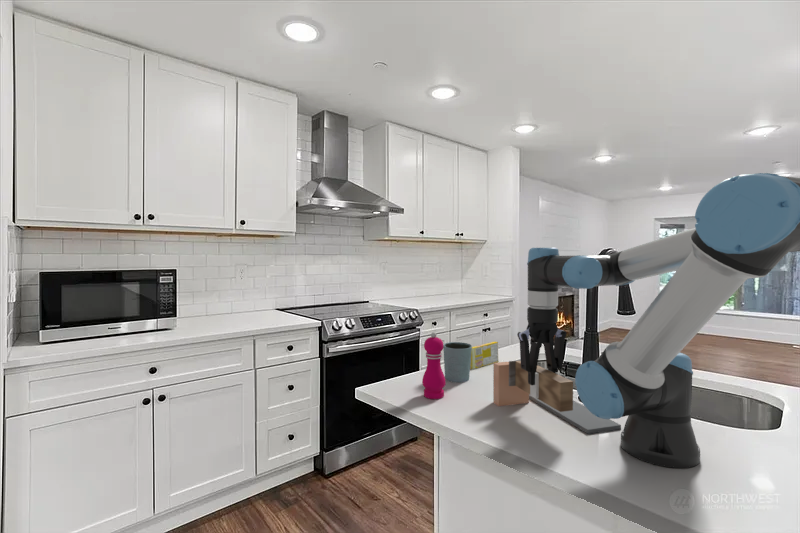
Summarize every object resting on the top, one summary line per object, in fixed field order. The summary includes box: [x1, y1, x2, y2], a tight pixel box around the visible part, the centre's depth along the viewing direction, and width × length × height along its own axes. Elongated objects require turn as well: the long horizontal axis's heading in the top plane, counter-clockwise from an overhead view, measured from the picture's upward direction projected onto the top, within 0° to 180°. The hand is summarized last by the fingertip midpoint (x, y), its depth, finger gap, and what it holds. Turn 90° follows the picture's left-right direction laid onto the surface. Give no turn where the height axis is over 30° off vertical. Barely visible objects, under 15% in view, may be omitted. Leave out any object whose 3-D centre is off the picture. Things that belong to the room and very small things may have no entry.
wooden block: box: [508, 359, 574, 412], centre depth 110 cm, size 21×7×7 cm, turn 15°
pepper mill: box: [421, 331, 447, 400], centre depth 130 cm, size 7×7×20 cm
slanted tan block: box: [492, 361, 530, 407], centre depth 124 cm, size 4×10×12 cm, turn 105°
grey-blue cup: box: [442, 341, 473, 383], centre depth 147 cm, size 10×10×12 cm
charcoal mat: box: [529, 394, 622, 434], centre depth 118 cm, size 28×10×1 cm, turn 16°
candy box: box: [470, 341, 500, 370], centre depth 165 cm, size 16×2×8 cm, turn 130°
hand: (541, 395), depth 109 cm, fingers closed on wooden block, 3 cm apart
